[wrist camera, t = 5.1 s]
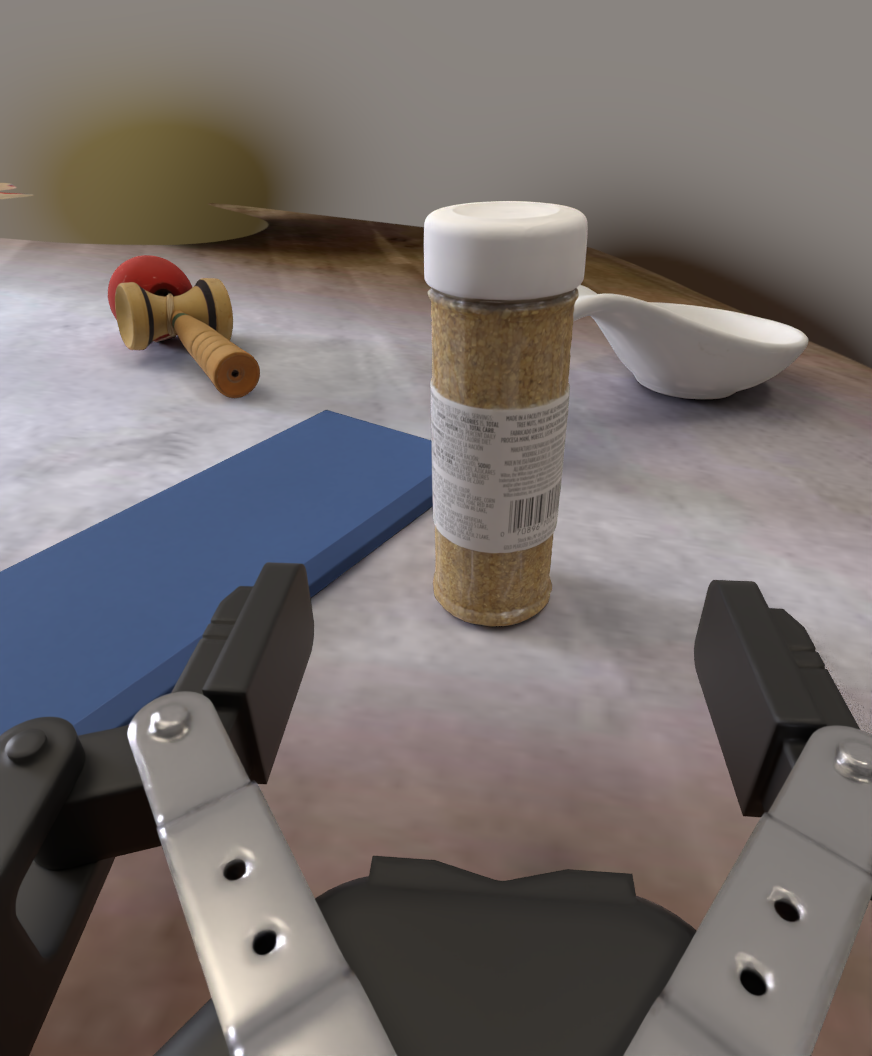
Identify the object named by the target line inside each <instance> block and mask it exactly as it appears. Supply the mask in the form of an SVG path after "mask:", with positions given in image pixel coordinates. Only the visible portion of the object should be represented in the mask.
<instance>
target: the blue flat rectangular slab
mask: <svg viewBox="0 0 872 1056" xmlns="http://www.w3.org/2000/svg"><path fill="white" fill-rule="evenodd" d="M432 506H433V491H432V441H431V440H427V439H424V438H421V437H417V436H414V435H410V434H407V433H404V432H400V431H397V430H393V429H390V428H386V427H383V426H380V425H376V424H373V423H369V422H366V421H363V420H359V419H356V418H352V417H349V416H346V415H342V414H339V413H335V412H332V411H329V410H325V411H323V412H321V413H319V414H317V415H315V416H313V417H311V418H309V419H307V420H305V421H303V422H301V423H299V424H297V425H295V426H293V427H291V428H289V429H287V430H285V431H283V432H281V433H279V434H277V435H275V436H273V437H271V438H269V439H267V440H265V441H262V442H260V443H258V444H256V445H254V446H252V447H250V448H248V449H246V450H244V451H242V452H240V453H238V454H236V455H234V456H232V457H230V458H228V459H226V460H224V461H222V462H220V463H218V464H216V465H214V466H212V467H210V468H208V469H206V470H204V471H202V472H200V473H198V474H196V475H194V476H192V477H190V478H188V479H186V480H184V481H182V482H180V483H178V484H176V485H174V486H172V487H170V488H168V489H166V490H164V491H162V492H160V493H158V494H156V495H154V496H152V497H150V498H148V499H146V500H144V501H142V502H140V503H138V504H136V505H134V506H132V507H130V508H128V509H126V510H124V511H122V512H120V513H118V514H116V515H114V516H112V517H110V518H108V519H106V520H104V521H102V522H100V523H98V524H96V525H94V526H92V527H90V528H88V529H86V530H84V531H81V532H79V533H77V534H75V535H73V536H71V537H69V538H67V539H65V540H63V541H61V542H59V543H57V544H55V545H53V546H51V547H49V548H47V549H45V550H43V551H41V552H39V553H37V554H35V555H33V556H31V557H29V558H27V559H25V560H23V561H21V562H19V563H17V564H15V565H13V566H11V567H9V568H7V569H5V570H3V571H1V572H0V735H2V734H3V733H4V732H6V731H7V730H9V729H10V728H12V727H14V726H16V725H18V724H20V723H23V722H25V721H28V720H31V719H35V718H40V717H59V718H63V719H65V720H67V721H69V722H70V723H71V724H72V725H73V727H74V728H75V730H76V733H77V735H78V736H79V735H84V734H88V733H93V732H98V731H103V730H108V729H113V728H118V727H122V726H126V725H129V724H130V723H131V721H132V719H133V718H134V716H135V715H136V714H137V713H138V712H139V711H140V710H141V709H142V708H143V707H144V706H145V705H147V704H148V703H150V702H151V701H153V700H155V699H157V698H159V697H161V696H164V695H167V694H170V693H171V692H172V690H173V688H174V686H175V685H176V683H177V681H178V679H179V677H180V675H181V674H182V672H183V670H184V668H185V666H186V664H187V663H188V661H189V659H190V657H191V655H192V653H193V652H194V650H195V648H196V646H197V644H198V642H199V640H200V639H202V637H203V633H204V631H205V629H206V628H207V626H208V624H210V623H211V618H212V617H213V615H214V613H215V611H216V609H217V607H218V605H219V604H220V602H221V601H222V600H223V599H224V598H226V597H227V596H228V595H229V594H230V593H231V592H233V591H234V590H235V589H236V588H237V587H239V586H254V584H255V582H256V580H257V578H258V576H259V574H260V572H261V570H262V568H263V566H264V565H265V563H267V562H273V563H300V564H304V566H305V568H306V572H307V578H308V585H309V592H310V598H311V597H313V596H314V595H315V594H317V593H318V592H319V591H321V590H322V589H323V588H325V587H326V586H327V585H328V584H330V583H331V582H332V581H334V580H335V579H336V578H338V577H339V576H340V575H342V574H343V573H344V572H346V571H347V570H348V569H350V568H351V567H352V566H354V565H355V564H356V563H358V562H359V561H360V560H362V559H363V558H364V557H366V556H367V555H368V554H370V553H371V552H372V551H373V550H375V549H376V548H377V547H379V546H380V545H381V544H383V543H384V542H385V541H387V540H388V539H389V538H391V537H392V536H393V535H395V534H396V533H397V532H399V531H400V530H401V529H403V528H404V527H405V526H407V525H408V524H409V523H411V522H412V521H413V520H414V519H416V518H417V517H418V516H420V515H421V514H422V513H424V512H425V511H426V510H428V509H429V508H430V507H432Z"/></svg>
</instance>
